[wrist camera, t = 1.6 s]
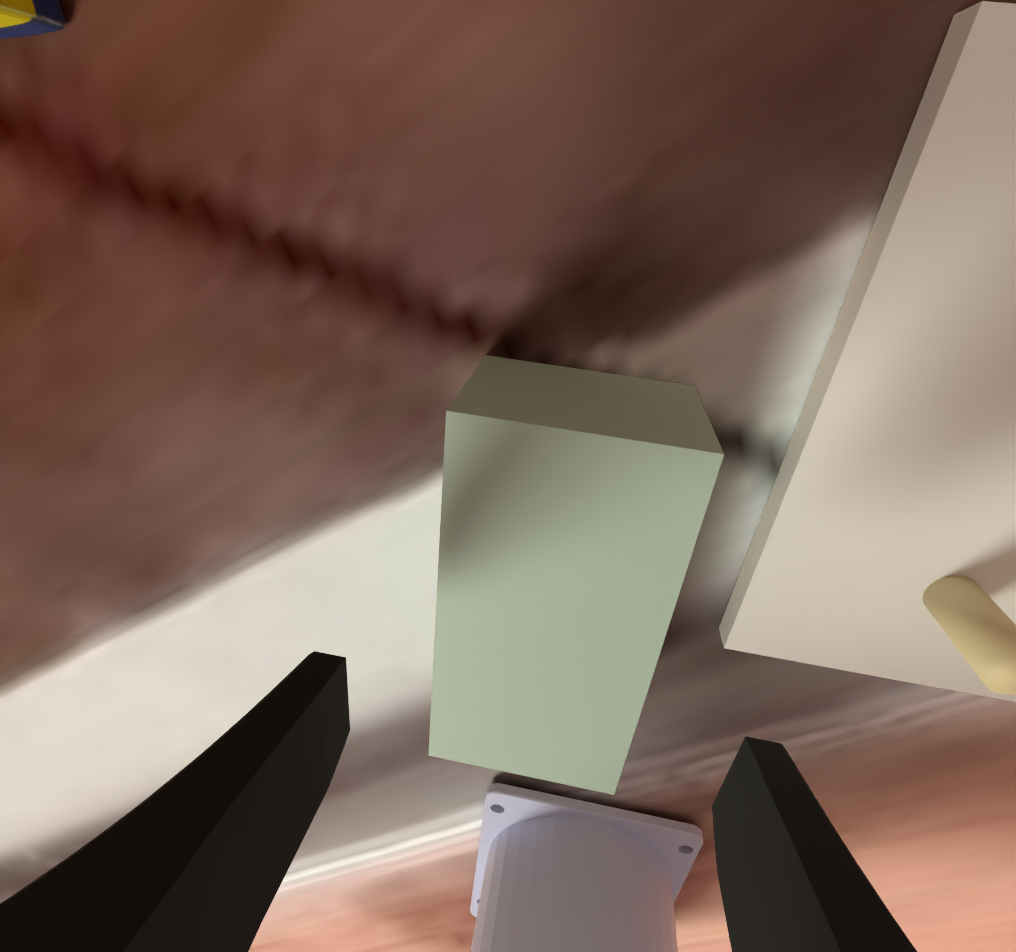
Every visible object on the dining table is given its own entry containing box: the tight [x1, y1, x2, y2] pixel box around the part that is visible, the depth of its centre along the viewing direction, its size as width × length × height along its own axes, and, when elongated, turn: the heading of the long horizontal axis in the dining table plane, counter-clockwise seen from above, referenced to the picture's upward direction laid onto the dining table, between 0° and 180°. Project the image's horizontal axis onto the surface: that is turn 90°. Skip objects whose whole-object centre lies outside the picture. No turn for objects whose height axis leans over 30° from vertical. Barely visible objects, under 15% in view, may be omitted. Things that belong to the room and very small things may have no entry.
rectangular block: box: [429, 355, 724, 795], centre depth 14 cm, size 10×5×4 cm, turn 174°
